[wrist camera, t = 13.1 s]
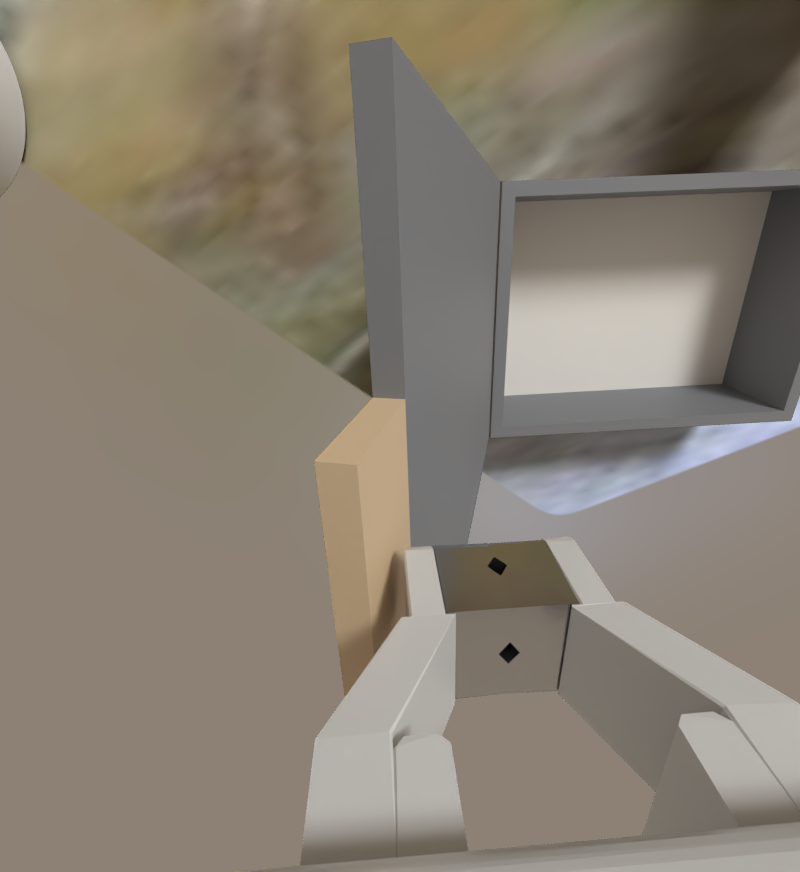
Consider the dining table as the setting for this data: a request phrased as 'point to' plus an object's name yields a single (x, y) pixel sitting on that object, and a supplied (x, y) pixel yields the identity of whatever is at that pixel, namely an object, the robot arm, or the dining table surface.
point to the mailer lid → (410, 349)
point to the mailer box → (646, 302)
